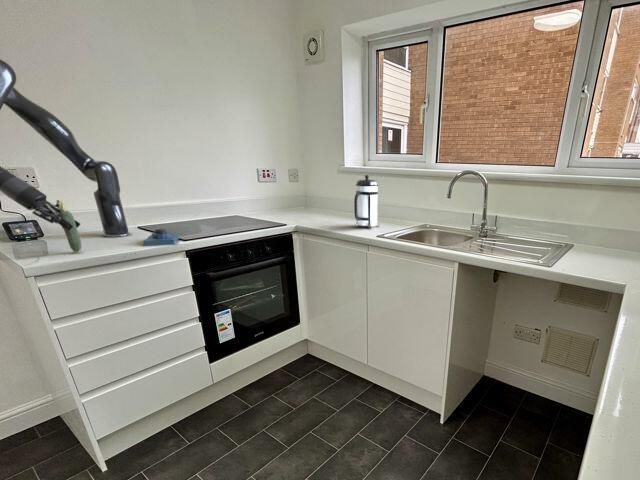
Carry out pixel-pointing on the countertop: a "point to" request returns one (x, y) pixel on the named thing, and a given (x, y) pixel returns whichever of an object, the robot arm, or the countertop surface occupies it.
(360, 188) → the coffee press
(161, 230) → the button
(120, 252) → the countertop surface
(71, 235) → the vegetable
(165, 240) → the button box
